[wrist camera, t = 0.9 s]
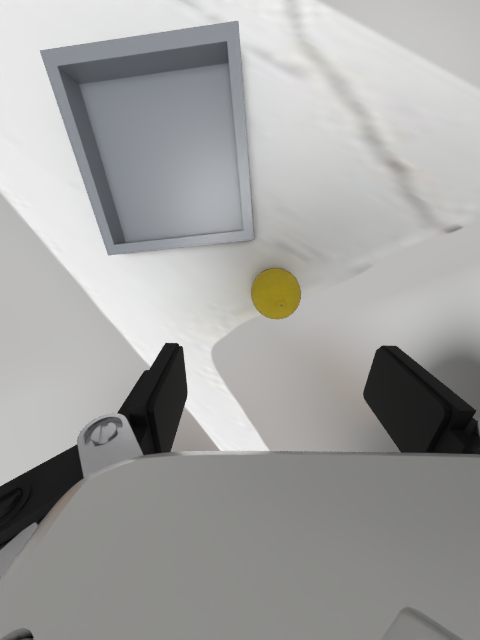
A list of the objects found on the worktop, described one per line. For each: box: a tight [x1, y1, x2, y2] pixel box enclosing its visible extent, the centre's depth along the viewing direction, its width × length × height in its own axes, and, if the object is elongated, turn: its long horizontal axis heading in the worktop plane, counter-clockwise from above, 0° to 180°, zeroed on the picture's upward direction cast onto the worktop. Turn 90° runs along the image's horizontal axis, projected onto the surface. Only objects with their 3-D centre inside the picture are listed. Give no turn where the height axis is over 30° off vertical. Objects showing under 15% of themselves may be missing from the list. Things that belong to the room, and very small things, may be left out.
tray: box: [40, 21, 254, 255], centre depth 22 cm, size 16×16×4 cm
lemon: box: [251, 268, 301, 319], centre depth 26 cm, size 6×6×8 cm
